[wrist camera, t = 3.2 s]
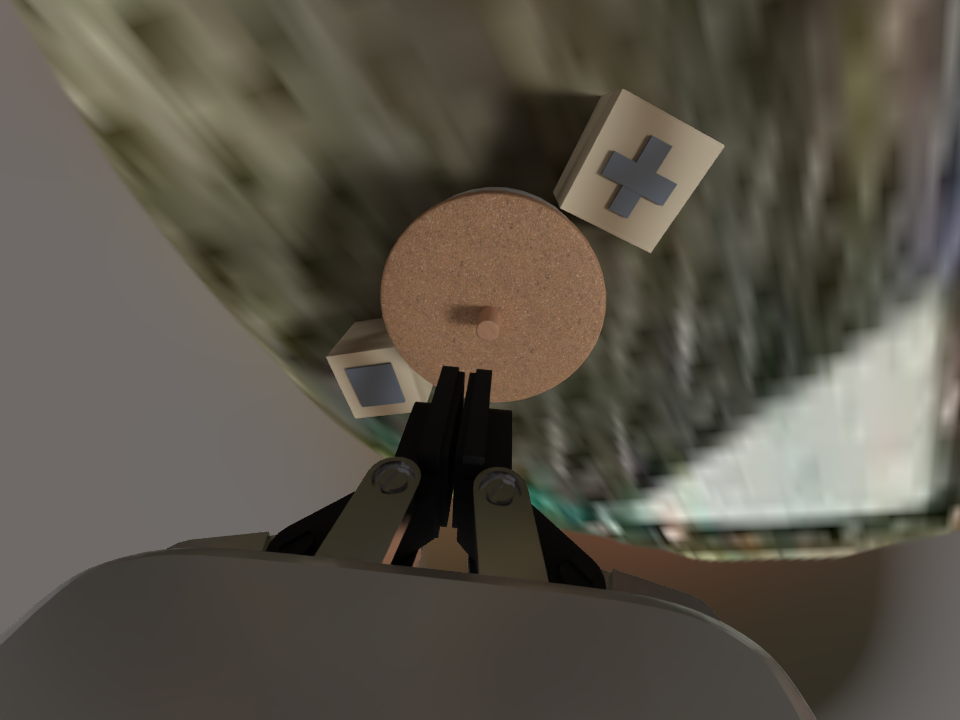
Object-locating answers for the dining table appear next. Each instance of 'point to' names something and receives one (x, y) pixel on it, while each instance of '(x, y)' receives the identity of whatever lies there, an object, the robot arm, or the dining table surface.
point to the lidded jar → (494, 292)
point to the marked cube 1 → (375, 372)
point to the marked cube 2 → (634, 169)
